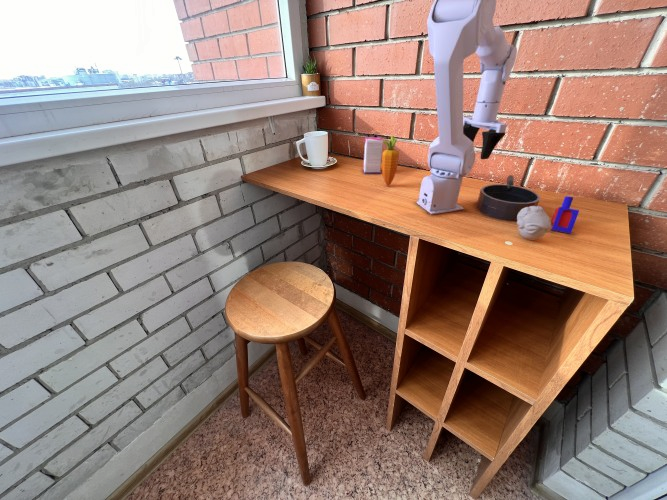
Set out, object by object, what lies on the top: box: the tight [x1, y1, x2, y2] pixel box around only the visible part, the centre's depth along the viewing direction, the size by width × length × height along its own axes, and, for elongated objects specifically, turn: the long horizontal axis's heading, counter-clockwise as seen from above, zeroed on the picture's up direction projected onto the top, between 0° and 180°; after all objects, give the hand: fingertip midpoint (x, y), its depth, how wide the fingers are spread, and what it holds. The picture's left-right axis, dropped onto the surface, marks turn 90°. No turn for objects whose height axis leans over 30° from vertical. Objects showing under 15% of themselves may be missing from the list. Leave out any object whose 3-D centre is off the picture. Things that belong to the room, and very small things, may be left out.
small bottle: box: [550, 195, 580, 234], centre depth 64 cm, size 4×4×8 cm
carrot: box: [381, 135, 400, 187], centre depth 87 cm, size 5×5×15 cm
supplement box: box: [363, 136, 384, 175], centre depth 101 cm, size 6×6×12 cm
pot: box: [476, 183, 541, 222], centre depth 73 cm, size 13×13×5 cm
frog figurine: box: [516, 205, 552, 241], centre depth 60 cm, size 6×7×7 cm
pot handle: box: [506, 174, 515, 190], centre depth 80 cm, size 11×2×2 cm, turn 151°
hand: (475, 155), depth 81 cm, fingers open, 7 cm apart
